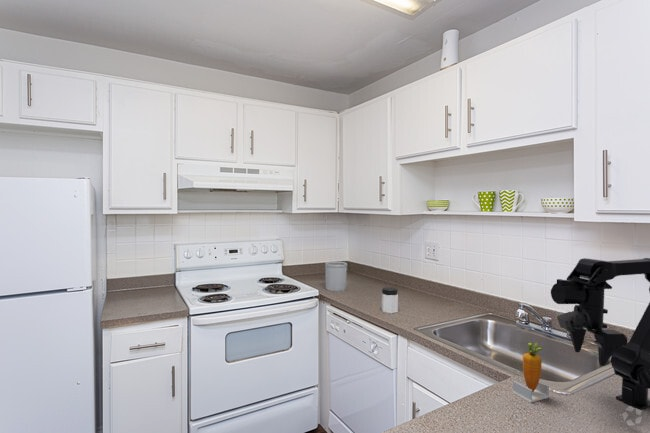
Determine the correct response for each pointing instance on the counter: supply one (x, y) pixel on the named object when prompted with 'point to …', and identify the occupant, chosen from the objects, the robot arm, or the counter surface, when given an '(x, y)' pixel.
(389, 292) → the jar
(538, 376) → the carrot
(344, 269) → the utensil holder
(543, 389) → the white railed tray
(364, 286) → the counter surface
